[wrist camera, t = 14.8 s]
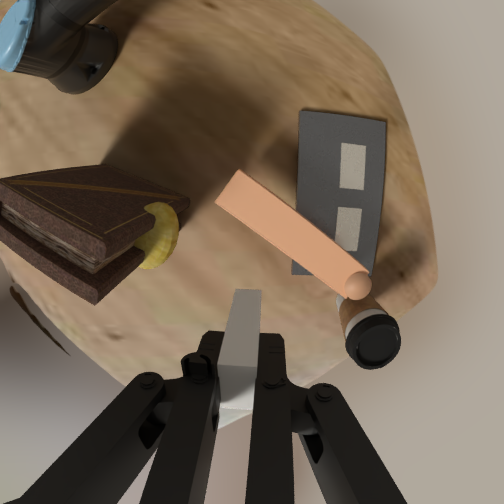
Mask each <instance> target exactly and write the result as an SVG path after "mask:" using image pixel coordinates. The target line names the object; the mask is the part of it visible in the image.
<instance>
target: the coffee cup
mask: <svg viewBox="0 0 504 504" xmlns="http://www.w3.org/2000/svg"><path fill="white" fill-rule="evenodd" d="M336 304H337V308H338V312H339V316H340V320H341V325H342V329H343V333H344V338H345V341H346V343H345V347H346V351H347V352H348V354H349V356H350V357H351V358H352V359H353V360H354V361H355V362H356V363H357V365H358V366H360V367H361V368H364V369H369V370H371V369H378V368H382V367H384V366H385V365H387V364H388V363H389V362H391V361H392V360H393V359H394V358H395V357H396V355H397V354H398V352H399V349H400V346H401V336H400V333H399V327H398V324H397V322H396V320H395V319H394V318H393V317H391V316H389V315H388V313H387V312H386V311H385V310H384V309H383V308H382V307H381V306H380V305H379V304H378V303H377V302H376V301H375V300H374V299H373V298H372V297H371V296H370V295H369V294H368V295H367V296H366V297H364V298H362V299H360V300H352V299H350V298H349V297H347V298H346V299H345V298H344V297H343V296H341V295H340V294H338V296H337V299H336Z"/></svg>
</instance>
